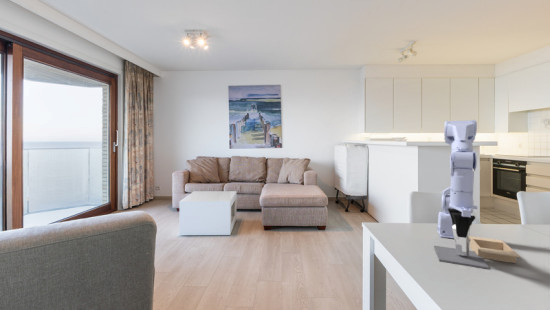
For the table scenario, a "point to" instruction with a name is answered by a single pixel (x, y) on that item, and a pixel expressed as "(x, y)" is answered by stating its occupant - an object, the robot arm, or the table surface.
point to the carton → (493, 249)
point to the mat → (459, 257)
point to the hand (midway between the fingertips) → (459, 234)
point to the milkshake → (461, 242)
